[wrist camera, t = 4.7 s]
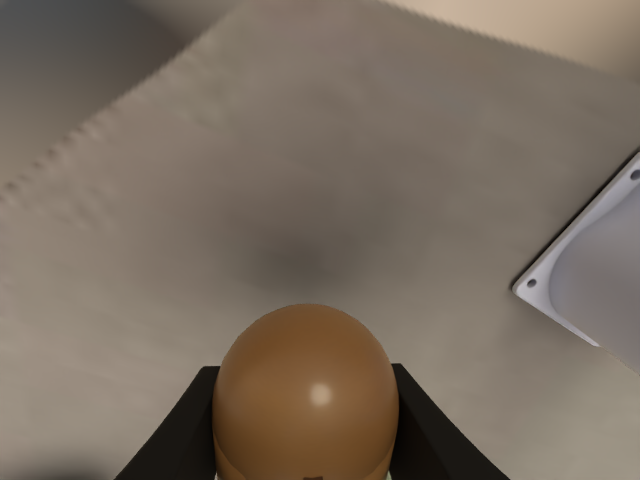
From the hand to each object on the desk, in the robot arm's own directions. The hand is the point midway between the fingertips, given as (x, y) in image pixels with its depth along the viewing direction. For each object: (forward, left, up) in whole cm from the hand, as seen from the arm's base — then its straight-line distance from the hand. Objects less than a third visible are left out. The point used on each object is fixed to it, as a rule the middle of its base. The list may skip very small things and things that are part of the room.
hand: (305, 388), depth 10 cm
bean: (0, 0, -1) cm, 1 cm away
